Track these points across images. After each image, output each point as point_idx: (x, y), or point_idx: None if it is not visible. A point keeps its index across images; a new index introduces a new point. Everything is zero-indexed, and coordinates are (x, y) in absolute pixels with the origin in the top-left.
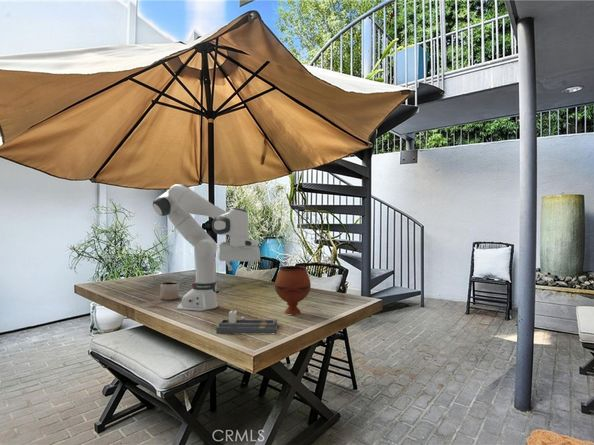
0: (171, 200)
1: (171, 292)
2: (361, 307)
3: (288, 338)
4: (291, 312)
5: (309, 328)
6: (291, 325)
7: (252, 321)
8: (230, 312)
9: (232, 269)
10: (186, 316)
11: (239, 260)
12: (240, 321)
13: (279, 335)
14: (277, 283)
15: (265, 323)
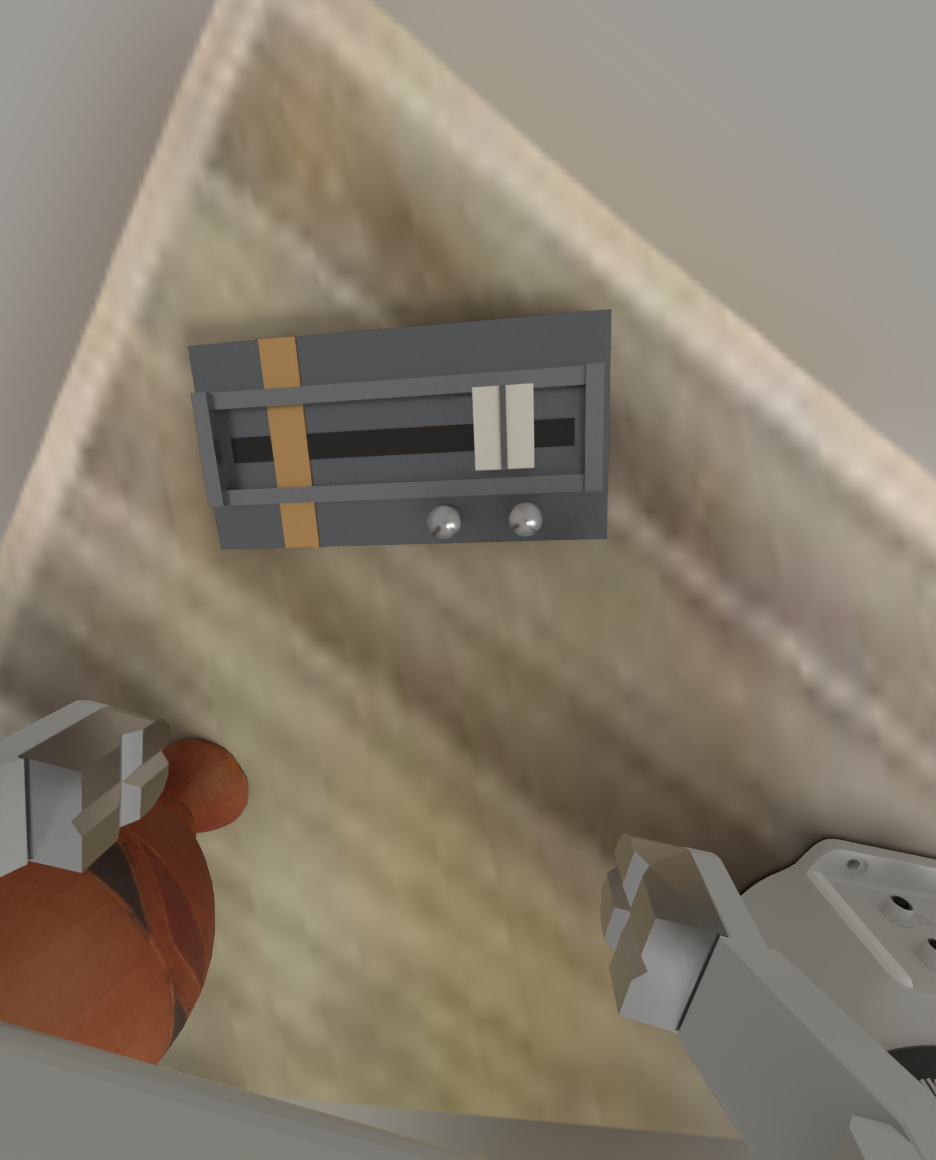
0: None
1: None
2: None
3: (121, 278)
4: (188, 754)
5: (48, 489)
6: (158, 540)
7: (372, 483)
8: (521, 401)
9: (603, 914)
10: (920, 708)
11: (84, 1110)
12: (459, 479)
13: (185, 331)
14: (100, 926)
15: (275, 447)
